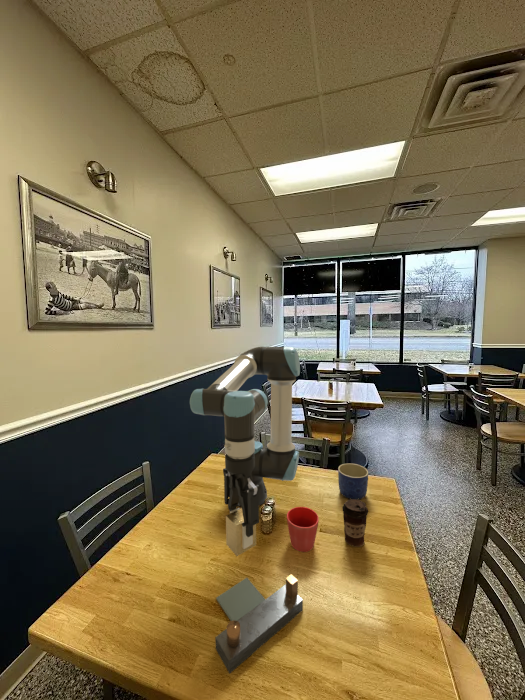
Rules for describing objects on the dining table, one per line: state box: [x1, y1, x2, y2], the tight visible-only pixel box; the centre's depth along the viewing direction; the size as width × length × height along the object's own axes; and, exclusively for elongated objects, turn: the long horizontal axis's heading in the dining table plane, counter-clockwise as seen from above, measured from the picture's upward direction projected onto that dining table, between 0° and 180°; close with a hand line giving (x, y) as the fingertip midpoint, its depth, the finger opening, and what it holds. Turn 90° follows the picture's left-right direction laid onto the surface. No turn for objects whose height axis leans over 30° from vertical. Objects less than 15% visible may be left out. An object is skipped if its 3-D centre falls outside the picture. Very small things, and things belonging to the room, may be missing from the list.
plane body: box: [214, 574, 304, 675], centre depth 70 cm, size 22×6×7 cm, turn 128°
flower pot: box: [286, 506, 320, 553], centre depth 97 cm, size 11×11×10 cm
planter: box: [337, 463, 369, 500], centre depth 125 cm, size 12×12×11 cm
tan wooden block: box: [225, 507, 257, 557], centre depth 75 cm, size 6×5×8 cm
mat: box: [215, 577, 266, 622], centre depth 77 cm, size 10×10×1 cm
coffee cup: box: [342, 499, 369, 548], centre depth 98 cm, size 9×8×13 cm
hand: (241, 539), depth 75 cm, fingers closed on tan wooden block, 5 cm apart
